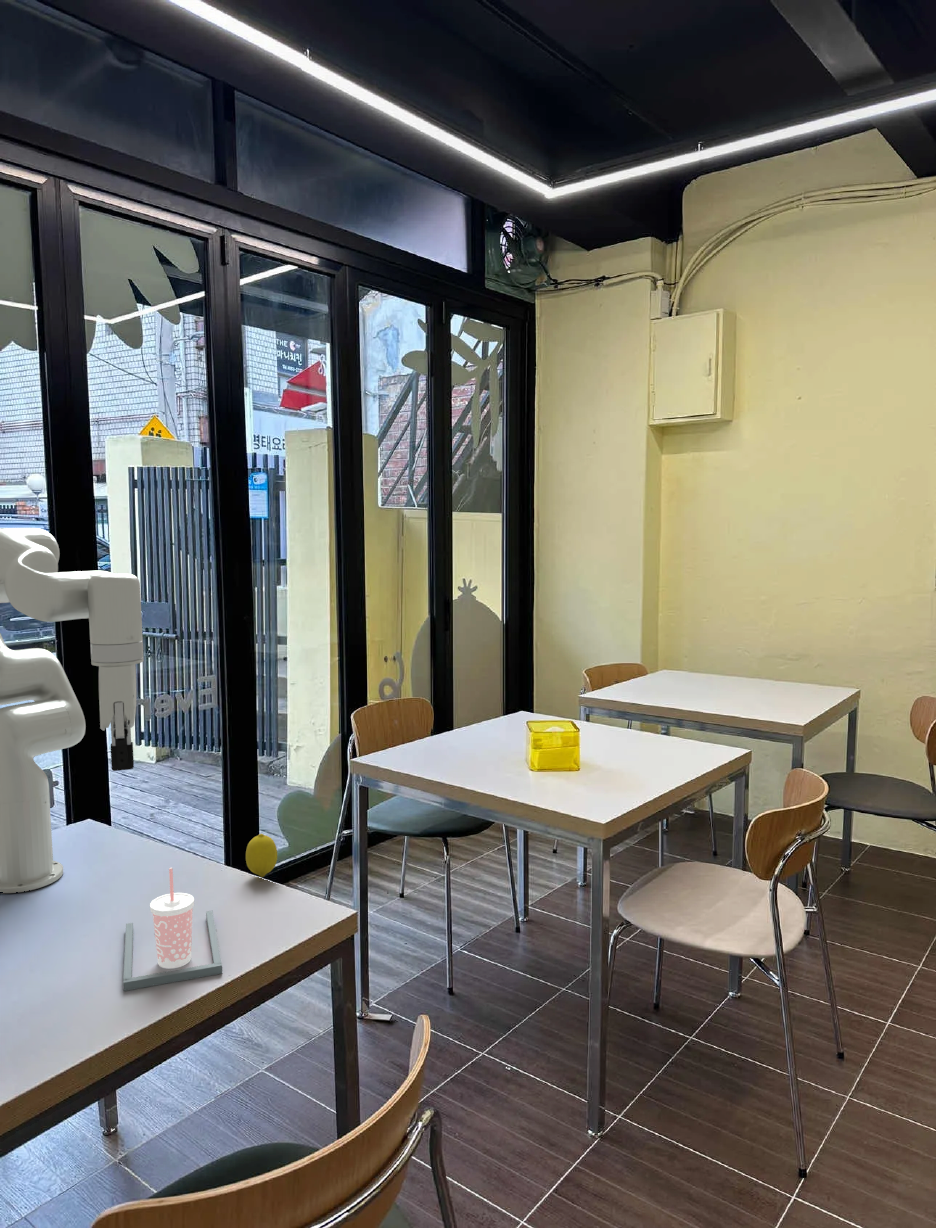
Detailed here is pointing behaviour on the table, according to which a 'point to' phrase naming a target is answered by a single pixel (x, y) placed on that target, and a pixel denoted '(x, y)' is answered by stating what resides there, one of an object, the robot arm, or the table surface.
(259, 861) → the lemon
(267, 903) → the table surface
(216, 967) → the slate channel
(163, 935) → the beverage cup
